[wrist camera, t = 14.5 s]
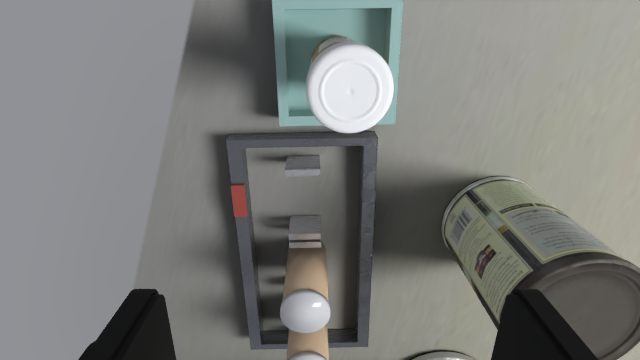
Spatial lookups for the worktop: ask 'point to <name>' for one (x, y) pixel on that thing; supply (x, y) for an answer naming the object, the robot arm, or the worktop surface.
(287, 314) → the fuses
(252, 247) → the frame
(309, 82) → the sprinkles bottle
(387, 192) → the worktop surface
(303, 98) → the tray
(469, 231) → the coffee can
